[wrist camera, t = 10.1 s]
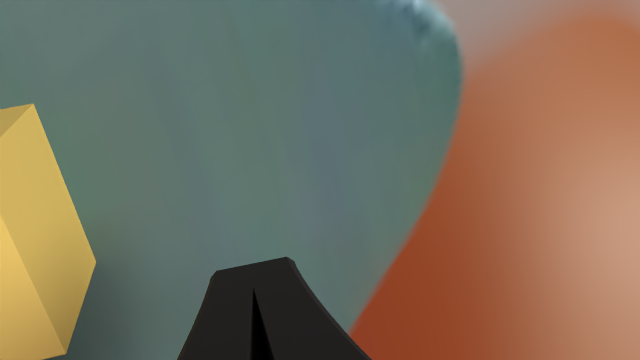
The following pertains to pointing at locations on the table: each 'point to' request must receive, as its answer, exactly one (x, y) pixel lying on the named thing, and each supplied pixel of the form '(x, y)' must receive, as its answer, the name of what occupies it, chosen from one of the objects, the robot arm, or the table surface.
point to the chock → (37, 244)
